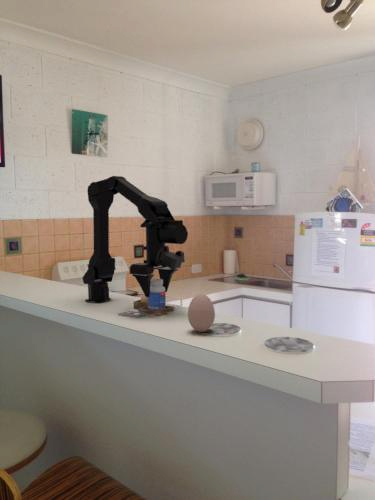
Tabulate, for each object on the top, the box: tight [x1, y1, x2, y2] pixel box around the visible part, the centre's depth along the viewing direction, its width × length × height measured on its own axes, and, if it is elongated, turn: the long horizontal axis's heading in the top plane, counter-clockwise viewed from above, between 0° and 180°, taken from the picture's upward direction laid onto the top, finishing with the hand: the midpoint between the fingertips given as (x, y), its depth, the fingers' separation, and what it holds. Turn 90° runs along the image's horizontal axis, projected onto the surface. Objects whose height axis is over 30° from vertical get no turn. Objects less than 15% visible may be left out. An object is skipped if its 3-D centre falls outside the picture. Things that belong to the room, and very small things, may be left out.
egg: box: [187, 293, 216, 333], centre depth 116 cm, size 7×7×10 cm
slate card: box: [118, 310, 148, 318], centre depth 136 cm, size 7×5×1 cm
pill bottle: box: [148, 278, 167, 311], centre depth 139 cm, size 6×5×10 cm
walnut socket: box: [138, 305, 175, 317], centre depth 140 cm, size 8×8×1 cm
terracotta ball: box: [139, 294, 148, 303], centre depth 145 cm, size 4×4×4 cm
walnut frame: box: [133, 299, 148, 310], centre depth 145 cm, size 6×6×2 cm
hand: (156, 294), depth 139 cm, fingers open, 9 cm apart
